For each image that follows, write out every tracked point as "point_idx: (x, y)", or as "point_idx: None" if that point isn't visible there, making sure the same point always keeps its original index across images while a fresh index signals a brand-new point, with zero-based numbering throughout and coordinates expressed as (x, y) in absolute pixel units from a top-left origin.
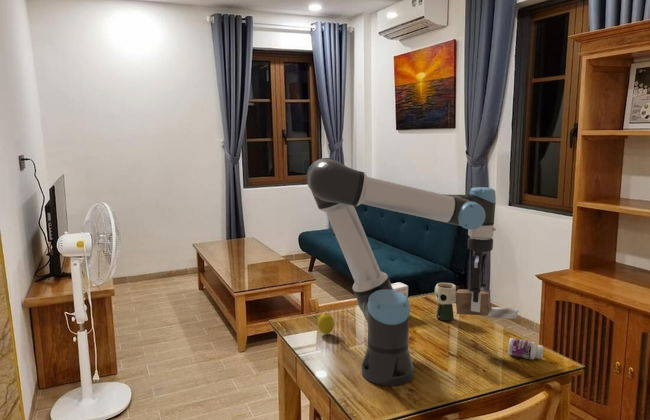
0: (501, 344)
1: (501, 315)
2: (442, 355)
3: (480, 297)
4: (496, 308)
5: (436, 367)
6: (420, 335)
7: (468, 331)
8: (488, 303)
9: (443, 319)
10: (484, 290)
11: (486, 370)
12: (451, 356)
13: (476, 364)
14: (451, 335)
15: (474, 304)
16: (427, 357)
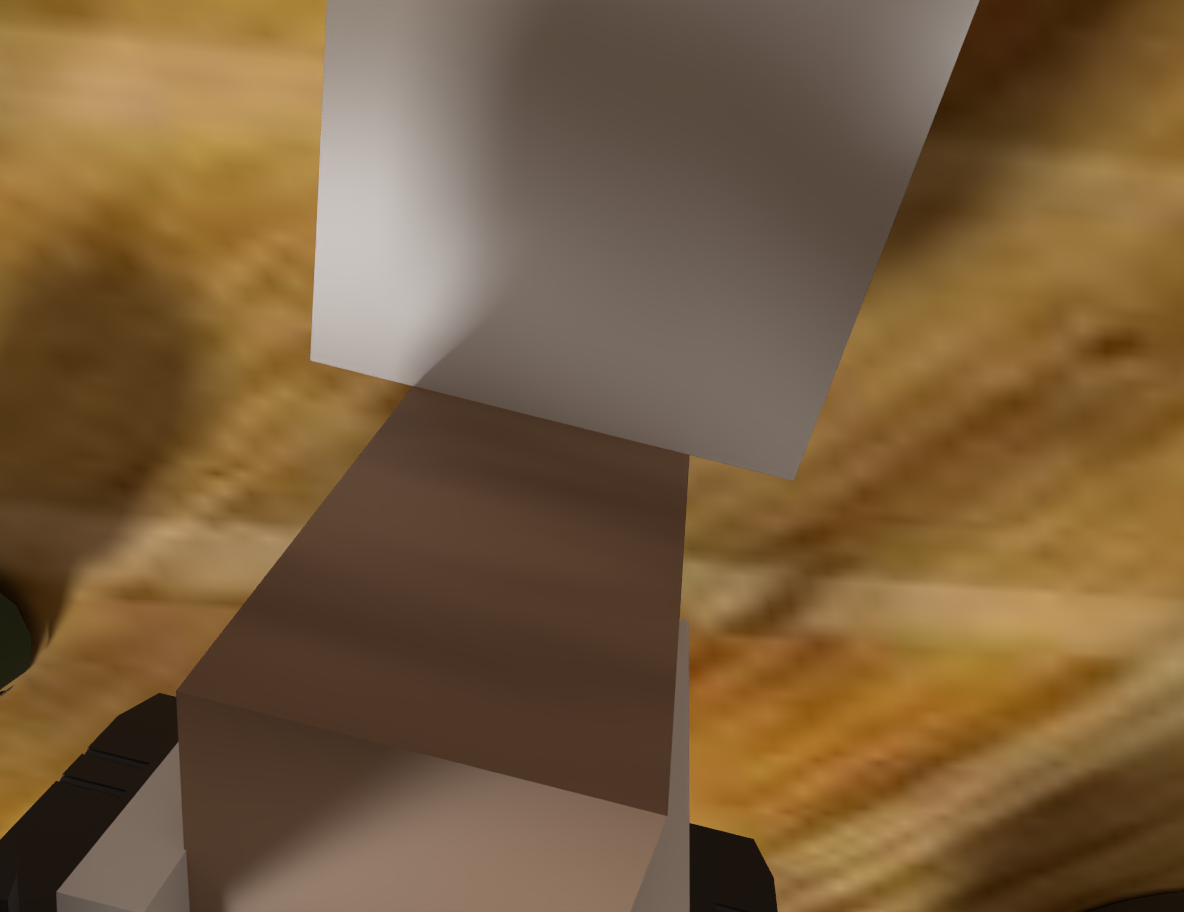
0: None
1: (897, 201)
2: (811, 680)
3: (686, 882)
4: (405, 268)
5: (1061, 735)
6: None
7: (177, 422)
8: (659, 570)
9: (23, 646)
10: (227, 825)
11: (1114, 320)
12: (821, 612)
13: (977, 406)
14: None
15: None
16: (868, 787)
